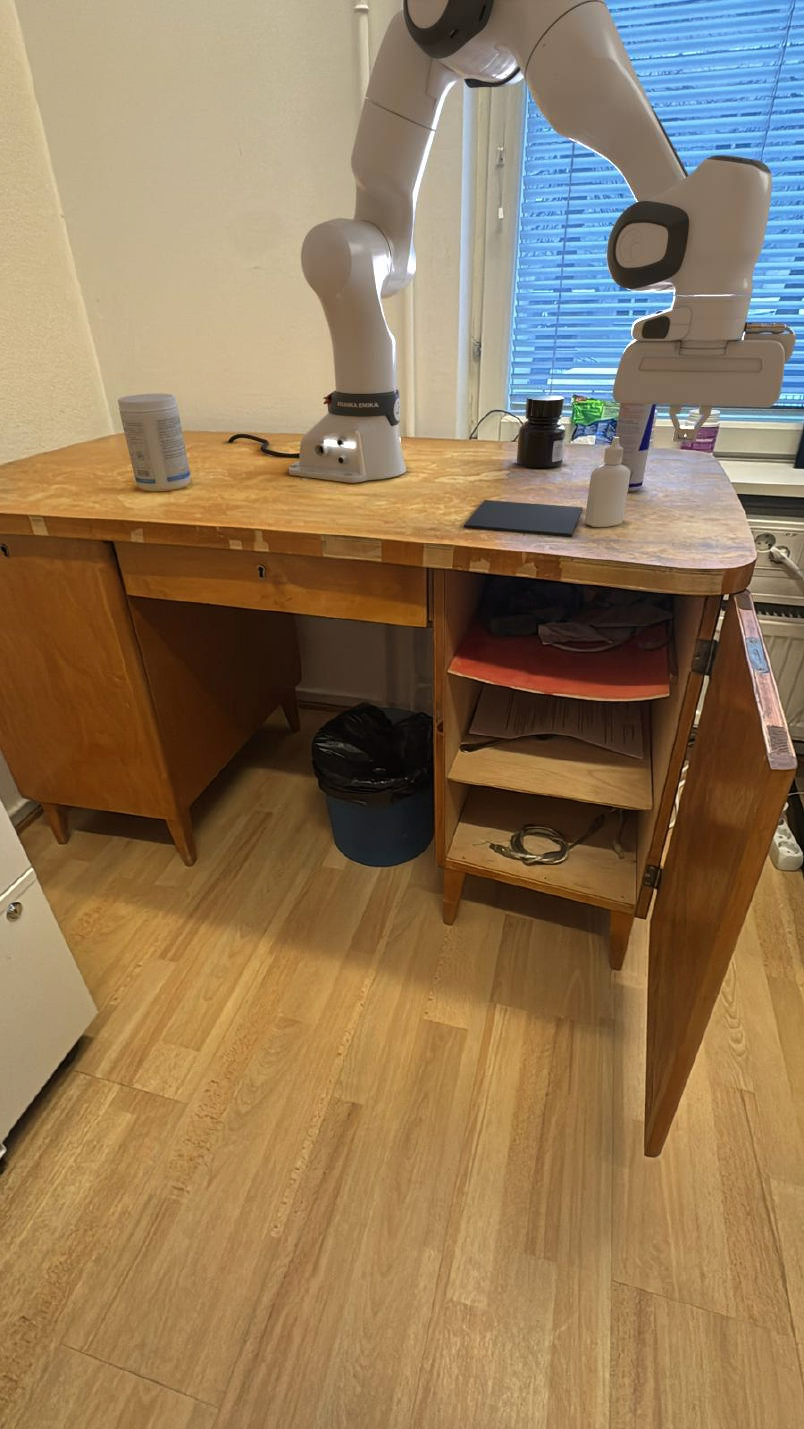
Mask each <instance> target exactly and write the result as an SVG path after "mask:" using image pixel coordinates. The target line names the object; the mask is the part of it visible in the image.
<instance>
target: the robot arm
mask: <svg viewBox="0 0 804 1429" xmlns="http://www.w3.org/2000/svg"><path fill="white" fill-rule="evenodd" d="M370 73H371V74H370V76H369V80H368V84H367V86H366V92H365V96H364V99H363V104H362V108H361V113H360V117H359V121H358V126H357V129H356V134H355V137H354V142H353V146H352V151H351V155H350V169H351V172H352V175H353V177H354V182H355V183H354V184H355V208H354V215H353V219H352V218H344V217H337V218H333V219H332V218H331V219H329V220H326V221H323V222H321V223H318V224H316V225H314V226H312V228H311V229H310V230H309V231H308V232H307V233H306V235H305V237H304V239H303V242H302V245H301V249H300V265H301V270H302V273H303V277H304V279H305V281H306V283H307V284H308V286H309V287H310V288H311V289H312V290H313V292H314V293H315V294H316V296H317V298H318V300H319V303H320V305H321V308H322V311H323V314H324V317H325V320H326V324H327V327H328V331H329V335H330V340H331V346H332V359H333V368H334V369H333V370H334V381H335V382H334V383H335V390H334V391H332V392H330V393H329V394H328V395H327V396H324V397H323V398H322V400H324V402H323V405H326V406H327V413H326V414H325V415H323V417H322V418H320V420H319V421H317V422H316V423H315V424H314V425H313V426H312V427H311V428H310V429H309V430H308V431H307V432H305V433H304V435H303V436H302V438H301V440H300V444H299V452H296V453H289V452H287V453H286V452H280V451H279V452H278V451H275V450H271V449H268V447H269V445H270V442H269V440H268V439H266V438H265V439H264V438H261V437H259V436H255V435H252V434H247V433H237V434H236V433H235V434H234V435H232V436H231V437H229V439H228V441H227V443H228V444H232V443H234V441H236V440H238V439H248V440H252V441H255V442H258V443H261V444H262V445H261V446H260V451H261V453H263V454H266V455H270V456H274V457H277V458H289V459H298V460H296V461H294V462H293V463H291V464H290V465H289V467H288V474H289V475H290V476H295V477H296V476H297V477H302V478H303V477H304V478H310V479H311V478H312V479H317V480H318V479H319V480H328V481H334V482H343V483H349V484H350V483H351V484H353V483H354V484H356V483H361V482H366V481H373V480H383V479H389V478H390V479H391V478H395V477H398V476H401V475H403V474H405V473H406V472H407V470H408V468H407V466H406V461H405V458H404V454H403V447H402V443H401V441H402V440H401V436H400V425H399V424H400V421H401V398H400V390H399V389H398V376H397V375H398V374H397V373H398V372H397V370H398V369H397V366H398V365H397V362H398V361H397V342H396V338H395V336H394V334H393V333H392V332H391V330H390V328H389V325H388V322H387V319H386V317H385V311H384V308H383V303H382V300H386V299H390V298H392V297H394V296H396V295H398V294H399V293H401V292H402V291H404V290H406V288H408V287H409V285H410V284H411V282H412V281H413V279H414V277H415V273H416V270H417V254H416V250H415V247H414V246H415V245H414V230H415V219H416V210H417V204H418V197H419V192H420V189H421V185H422V180H423V177H424V174H425V170H426V166H427V162H428V160H429V155H430V152H431V149H432V146H433V143H434V139H435V135H436V130H437V128H438V125H439V122H440V121H439V120H440V118H441V113H442V110H443V106H444V103H445V100H446V98H447V96H448V94H449V92H450V90H451V89H452V87H453V86H454V85H456V84H457V83H458V82H460V81H462V80H463V81H464V83H465V85H466V86H467V87H468V88H469V89H478V88H504V87H505V88H506V87H510V86H512V85H515V84H517V83H519V82H521V80H523V79H524V81H525V84H526V87H527V88H528V90H529V93H530V95H531V98H532V100H533V102H534V103H535V106H536V108H537V110H539V112H540V114H541V115H542V117H543V118H544V119H545V120H546V122H547V124H549V126H550V127H551V128H552V130H553V131H554V132H556V133H557V134H558V135H559V136H561V137H563V138H565V139H567V140H569V141H572V142H574V143H576V144H578V145H580V146H582V147H585V148H586V149H588V150H591V151H592V152H594V153H596V154H598V155H599V156H601V157H602V158H604V159H605V160H607V161H608V162H610V163H611V164H612V165H613V166H614V167H615V168H616V170H618V172H619V173H620V174H621V176H622V177H623V178H624V181H625V182H626V185H627V186H628V188H629V190H630V191H631V193H632V195H633V197H634V199H635V201H636V202H634V203H633V204H631V205H630V206H628V207H627V208H626V209H624V210H623V211H622V213H621V214H620V215H619V216H618V218H617V219H616V221H615V222H614V224H613V226H612V229H611V231H610V232H609V233H610V234H609V237H608V240H607V245H606V265H607V269H608V272H609V275H610V277H611V279H612V280H613V282H615V284H616V285H617V286H618V287H621V288H623V289H626V290H629V291H631V292H637V293H640V292H641V293H670V294H673V298H672V304H671V306H670V308H668V309H664V310H663V309H661V310H657V311H655V312H654V313H653V314H650V315H646V316H644V317H640V318H638V319H636V320H634V322H633V324H632V326H631V334H630V335H631V338H632V339H633V340H632V341H631V342H630V343H629V344H628V345H627V346H626V347H625V349H624V350H623V352H622V355H621V358H620V360H619V363H618V367H617V370H616V373H615V378H614V382H613V387H612V398H613V399H614V401H615V402H616V403H617V404H620V403H632V404H656V405H667V406H668V405H669V409H668V414H669V418H670V420H671V423H672V425H673V429H674V430H673V435H672V443H673V442H674V443H696V442H697V439H698V432H699V430H700V429H701V428H702V426H703V425H704V424H705V423H706V422H707V420H708V419H709V418H710V416H711V414H712V409H713V407H734V408H735V407H739V408H771V407H773V406H774V405H775V404H776V403H777V402H778V401H779V400H780V397H781V393H782V388H783V383H784V375H785V364H786V363H787V362H789V360H790V359H791V358H792V355H793V352H794V348H795V344H796V341H797V338H796V333H795V331H794V330H793V329H792V328H791V327H789V326H787V325H786V323H783V322H774V323H764V322H747V318H748V314H749V310H750V305H751V301H752V296H753V295H752V294H753V291H754V285H753V276H754V270H755V266H756V264H757V261H758V259H759V257H760V255H761V253H762V250H763V246H764V241H765V237H766V232H767V226H768V220H769V214H770V208H771V202H772V200H771V199H772V190H773V176H772V171H771V170H770V168H769V167H768V165H767V164H766V163H764V162H763V161H761V160H758V159H754V158H747V157H742V156H735V155H726V154H717V155H711V156H710V157H706V158H705V159H703V160H702V161H701V162H700V163H699V164H698V165H697V167H696V168H695V169H694V170H693V171H692V172H691V173H690V174H689V173H688V171H687V170H686V168H685V165H684V164H683V161H682V159H681V157H680V156H679V154H678V151H677V150H676V149H675V146H674V144H673V142H672V140H671V139H670V137H669V135H668V133H667V131H666V129H665V128H664V127H665V126H663V125H664V124H662V121H661V120H660V118H659V116H658V115H657V113H656V110H654V108H653V106H652V104H651V101H650V99H649V97H648V95H647V93H646V90H645V88H644V86H643V84H642V82H641V81H640V79H639V76H638V75H637V72H636V70H635V68H634V66H633V63H632V61H631V58H630V57H629V54H628V51H627V50H626V48H625V44H624V42H623V40H622V38H621V36H620V33H619V31H618V28H617V26H616V23H615V22H614V19H613V17H612V15H611V12H610V10H609V7H608V6H607V4H606V1H605V0H402V9H401V10H399V11H398V12H397V13H395V14H394V16H393V17H392V18H391V19H390V22H389V24H388V26H387V28H386V31H385V33H384V36H383V38H382V41H381V43H380V45H379V49H378V51H377V54H376V58H375V60H374V63H373V67H372V70H371V72H370ZM785 331H786V332H787V333H785ZM683 406H698V415H699V417H698V418H697V419H696V421H695V423H694V424H693V425H681V424H680V421H679V419H678V418H679V417H678V416H677V415H680V414H681V411H682V407H683Z"/></svg>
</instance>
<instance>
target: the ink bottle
mask: <svg viewBox="0 0 804 1429" xmlns="http://www.w3.org/2000/svg"><path fill="white" fill-rule="evenodd" d="M564 399H565V397H563V396H561V395H554V394H533V395H528V396H527V397H526V401H525V402H526V403H525V419H526V421H525V422H524V423H523V424H521V426H520V427H519V428H518V438H517V448H516V450H517V453H516V464H518V465H520V466H522V467H526V468H532V469H533V468H535V469H547V468H549V469H551V468H556V467H560V466H561V465H562V464H563V458H564V450H565V443H566V442H565V441H566V427H565V426H564V425H562V422H560V420H562V415H563V408H564Z"/></svg>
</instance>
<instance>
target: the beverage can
mask: <svg viewBox="0 0 804 1429" xmlns="http://www.w3.org/2000/svg"><path fill="white" fill-rule="evenodd" d="M656 408H657V404H632V403H619V408H618V415H617V423H616V428H615V429H616V430H615V436H614V437H619V445H620V446H621V447H622V448H623V455H622V462H621V463H620V464H621V465H623V466H625V467H627V468H628V469H629V470H630V479H629V486H628V492H627V493H631V492H632V493H633V492H636V491H637V492H638V491H639V490H641V489H642V488H643V482H644V478H645V473H646V472H645V471H646V465H647V462H648V461H647V460H648V454H649V448H650V444H651V436H652V431H653V425H654V420H655V414H656Z"/></svg>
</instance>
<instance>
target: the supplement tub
mask: <svg viewBox="0 0 804 1429" xmlns="http://www.w3.org/2000/svg"><path fill="white" fill-rule="evenodd" d="M117 403H118V410H119V415H120V419H121V420H120V421H121V425H122V428H123V432H124V436H125V437H124V438H125V441H126V445H127V446H126V447H127V450H128V454H129V455H128V456H129V458H130V462H131V463H130V464H131V467H132V471H133V476H134V480H135V484H136V486H137V488H138V489H140V490H142V491H147V492H171V491H174V490H179V489H183V488H185V487H187V486H188V485H189V484H190V483H191V481H192V475H191V470H190V464H189V459H188V455H187V449H186V444H185V438H184V433H183V429H182V421H181V418H180V413H179V408H178V404H177V402H176V397H175V395H174V394H171V393H142V394H133V395H126V396H123V397H119V398H118V399H117Z"/></svg>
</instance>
